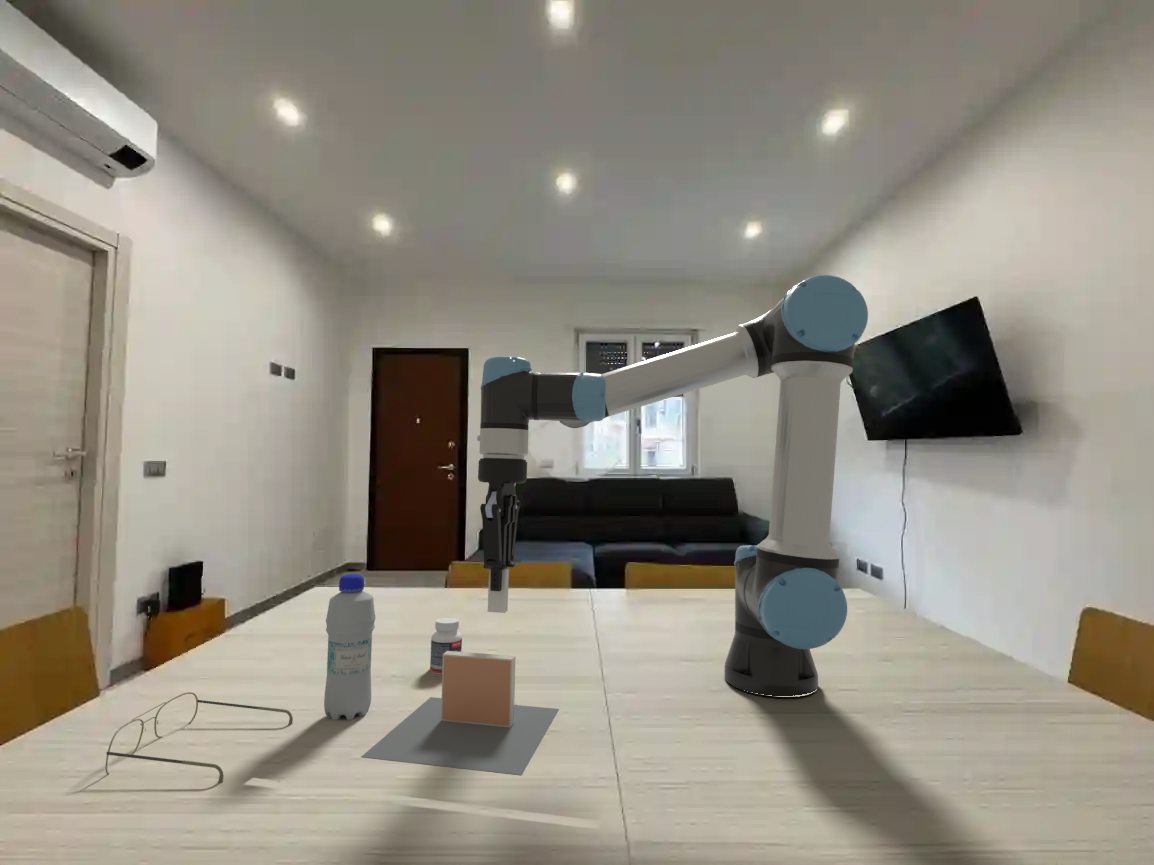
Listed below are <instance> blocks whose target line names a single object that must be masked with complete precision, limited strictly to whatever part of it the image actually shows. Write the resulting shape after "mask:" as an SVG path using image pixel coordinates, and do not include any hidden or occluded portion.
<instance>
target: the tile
mask: <svg viewBox="0 0 1154 865" xmlns="http://www.w3.org/2000/svg"><path fill="white" fill-rule="evenodd" d="M515 685H516V655H505V654H495V653H492V654H491V653H482V652H481V653H480V652H479V653H478V652H467V651H465V652H464V651H461V652H456V651H446V652H445V653H444V654H443V666H442V674H441V698H442V701H441V721H451V722H461V723H471V724H481V725H491V726H502V727H511V726H512V725H513V723H514V705H515V697H516V696H515V691H516V690H515V689H516V686H515Z"/></svg>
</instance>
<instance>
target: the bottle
mask: <svg viewBox="0 0 1154 865" xmlns="http://www.w3.org/2000/svg"><path fill="white" fill-rule="evenodd" d="M364 589H365V579H364V576H363V575H361V574H356V573H348V574H344V575H342V576H341V577H340V578H339V583H338V591H339V593H337V594H335V595H333V596H331V597H330V599H329V601H328V607H327V614H326V619H325V623H326V624H325V625H326V629H325V632H326V633H327V637H328V638H327V642H328V643H327V658H326V659H327V660H326V662H327V663H326V682H325V689H324V700H323V708H324V713H325V716H326V718H327V719H329V720H333V721H338V720H340V719H341V718H342V716H345V719H346V720H347V721H348V720H353V719H354V717H355V716H356V715H357V716H360V717H363V716H366V714H367V712H368V711H369V709H370V706H371V704H372V703H371V702H372V672H371V671H372V650H373V649H372V647H373V646H372V645H373V642H372V641H373V632H374V629H375V626H376V625H375V622H376V613H375V612H376V610H375V599H374V596H373V595H372V594H370V593H368V592H366V591H364Z"/></svg>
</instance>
